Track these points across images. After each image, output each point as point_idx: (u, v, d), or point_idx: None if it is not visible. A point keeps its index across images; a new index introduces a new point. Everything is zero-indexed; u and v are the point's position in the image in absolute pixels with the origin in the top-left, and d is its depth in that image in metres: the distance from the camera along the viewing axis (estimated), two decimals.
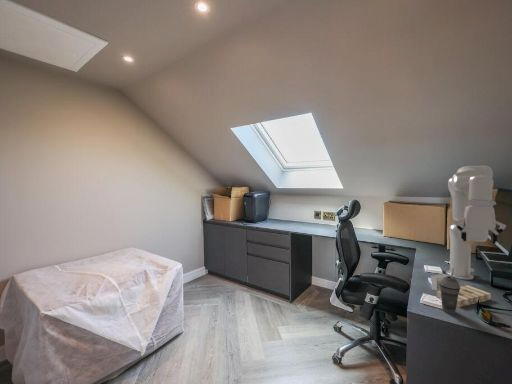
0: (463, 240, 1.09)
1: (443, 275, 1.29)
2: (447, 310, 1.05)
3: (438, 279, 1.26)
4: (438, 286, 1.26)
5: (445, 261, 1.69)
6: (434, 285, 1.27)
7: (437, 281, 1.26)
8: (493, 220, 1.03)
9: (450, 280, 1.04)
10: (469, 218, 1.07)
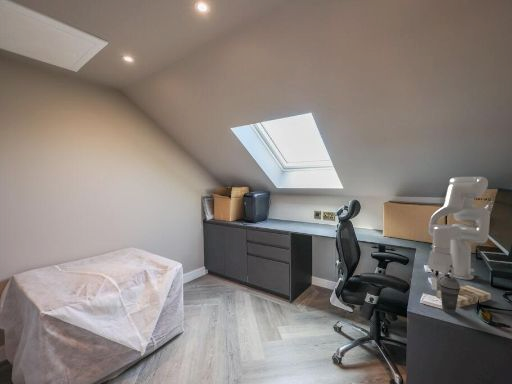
0: None
1: None
2: (447, 310, 1.05)
3: (438, 279, 1.26)
4: (438, 286, 1.26)
5: None
6: (434, 285, 1.27)
7: (437, 281, 1.26)
8: None
9: (450, 280, 1.04)
10: None
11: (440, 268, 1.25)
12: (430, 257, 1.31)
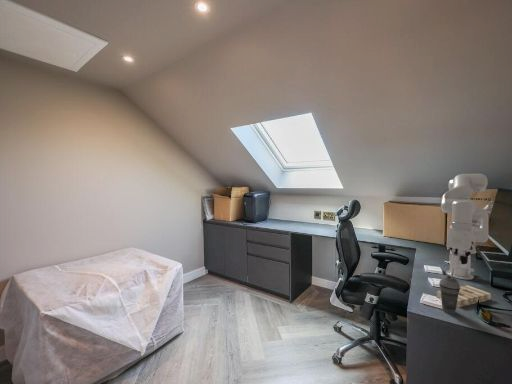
0: (465, 263, 1.17)
1: None
2: (447, 310, 1.05)
3: (457, 257, 1.16)
4: (457, 265, 1.17)
5: (445, 261, 1.69)
6: (453, 264, 1.18)
7: (456, 259, 1.16)
8: None
9: (450, 280, 1.04)
10: None
11: (460, 245, 1.16)
12: (449, 234, 1.21)
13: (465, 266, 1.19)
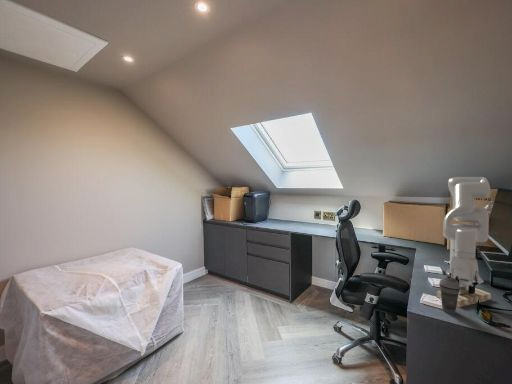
0: (472, 293, 1.14)
1: (466, 283, 1.19)
2: (447, 310, 1.05)
3: (461, 288, 1.15)
4: None
5: (445, 261, 1.69)
6: None
7: (460, 290, 1.15)
8: None
9: (450, 280, 1.04)
10: None
11: (464, 274, 1.15)
12: (452, 262, 1.20)
13: None
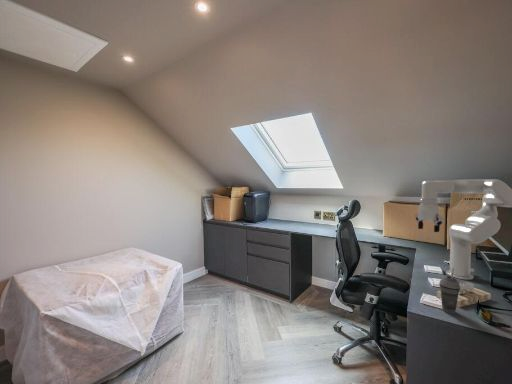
0: (437, 231, 1.38)
1: (466, 283, 1.19)
2: (447, 310, 1.05)
3: (461, 288, 1.15)
4: (461, 295, 1.16)
5: (444, 261, 1.69)
6: None
7: (460, 290, 1.15)
8: None
9: (450, 280, 1.04)
10: None
11: (428, 217, 1.40)
12: (419, 209, 1.45)
13: None
